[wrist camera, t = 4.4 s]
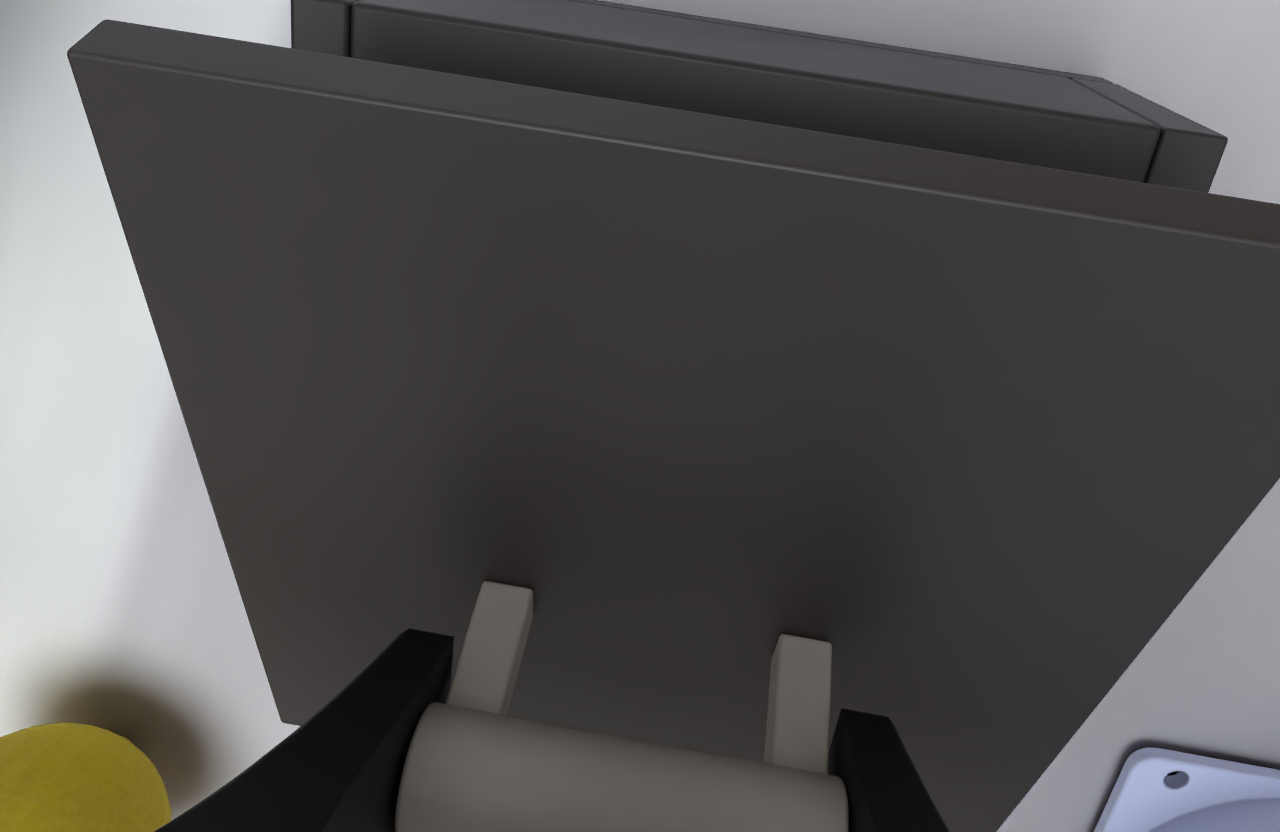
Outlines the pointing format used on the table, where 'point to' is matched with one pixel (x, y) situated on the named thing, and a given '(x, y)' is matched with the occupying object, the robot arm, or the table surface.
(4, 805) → the lemon
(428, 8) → the dark grey square box
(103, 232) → the table surface
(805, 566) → the dark grey box lid
